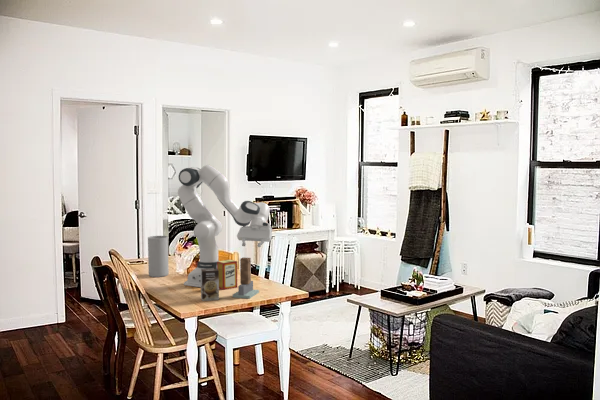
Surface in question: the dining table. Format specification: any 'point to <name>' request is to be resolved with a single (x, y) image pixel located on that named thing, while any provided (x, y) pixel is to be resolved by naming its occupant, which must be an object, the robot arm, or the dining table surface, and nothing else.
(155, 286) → the dining table surface
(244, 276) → the oak post
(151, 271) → the cylinder vase
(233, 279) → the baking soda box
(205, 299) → the coffee box
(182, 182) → the robot arm
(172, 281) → the dining table surface
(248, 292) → the rail
